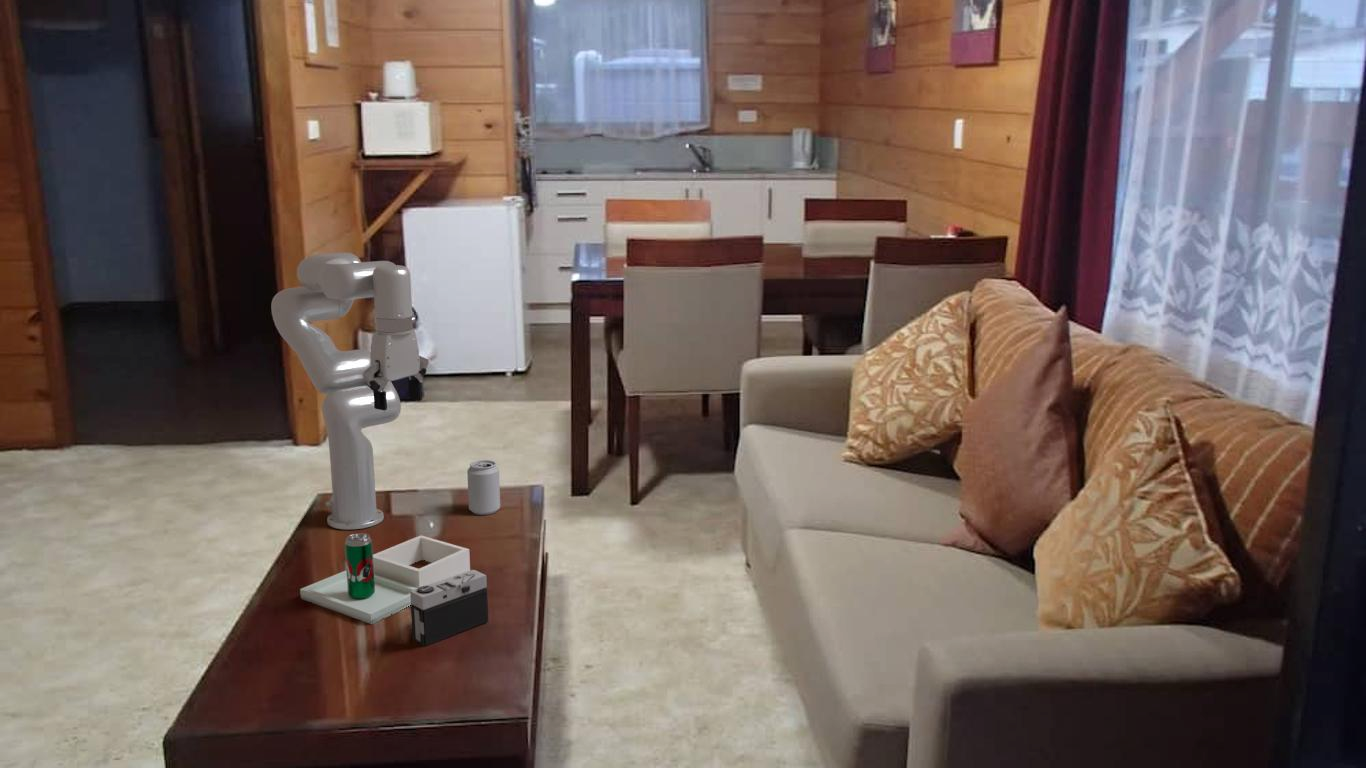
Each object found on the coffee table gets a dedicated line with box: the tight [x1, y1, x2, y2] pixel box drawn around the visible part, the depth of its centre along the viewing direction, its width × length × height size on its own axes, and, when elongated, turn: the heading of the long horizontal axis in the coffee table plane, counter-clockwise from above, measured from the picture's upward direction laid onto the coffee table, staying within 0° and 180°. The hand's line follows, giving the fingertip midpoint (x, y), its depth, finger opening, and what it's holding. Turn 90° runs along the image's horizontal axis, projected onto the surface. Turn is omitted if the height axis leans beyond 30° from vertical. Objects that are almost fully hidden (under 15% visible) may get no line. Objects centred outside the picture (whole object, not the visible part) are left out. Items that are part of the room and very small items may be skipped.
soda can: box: [344, 532, 375, 599], centre depth 207 cm, size 5×5×12 cm
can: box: [466, 459, 501, 516], centre depth 257 cm, size 8×8×12 cm
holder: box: [373, 534, 471, 588], centre depth 220 cm, size 14×14×5 cm
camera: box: [410, 569, 489, 647], centre depth 196 cm, size 14×8×10 cm, turn 136°
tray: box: [299, 569, 417, 625], centre depth 209 cm, size 20×13×2 cm, turn 57°
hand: (398, 404), depth 228 cm, fingers open, 9 cm apart
